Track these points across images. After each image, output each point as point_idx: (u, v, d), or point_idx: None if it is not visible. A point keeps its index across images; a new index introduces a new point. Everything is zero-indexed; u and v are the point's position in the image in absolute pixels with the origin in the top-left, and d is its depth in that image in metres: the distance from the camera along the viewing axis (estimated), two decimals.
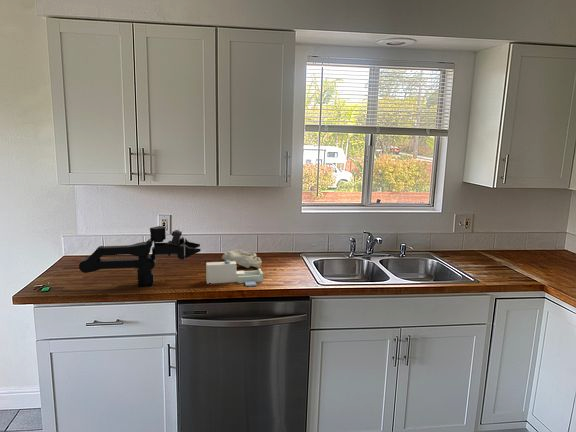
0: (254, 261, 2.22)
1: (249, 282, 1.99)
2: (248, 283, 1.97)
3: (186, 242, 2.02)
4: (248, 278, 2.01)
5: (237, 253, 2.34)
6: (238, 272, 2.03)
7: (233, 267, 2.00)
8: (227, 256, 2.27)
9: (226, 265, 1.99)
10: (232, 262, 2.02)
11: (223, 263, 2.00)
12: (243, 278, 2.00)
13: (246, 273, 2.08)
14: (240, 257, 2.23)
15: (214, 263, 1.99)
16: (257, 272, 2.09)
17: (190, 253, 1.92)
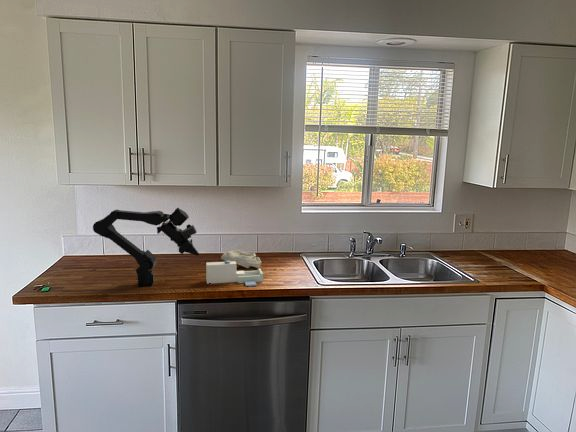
0: (254, 261, 2.21)
1: (249, 282, 1.99)
2: (248, 283, 1.97)
3: None
4: (248, 278, 2.01)
5: (236, 253, 2.33)
6: (238, 272, 2.03)
7: (233, 267, 2.00)
8: (226, 256, 2.27)
9: (226, 265, 1.99)
10: (232, 262, 2.02)
11: (223, 263, 2.00)
12: (243, 278, 2.00)
13: (246, 273, 2.08)
14: (240, 257, 2.22)
15: (214, 263, 1.99)
16: (257, 272, 2.09)
17: (189, 251, 1.95)
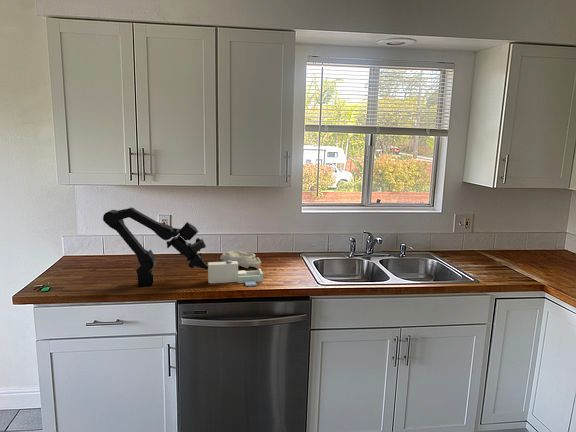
0: (253, 261, 2.21)
1: (249, 282, 1.99)
2: (248, 283, 1.97)
3: None
4: (248, 278, 2.01)
5: (235, 253, 2.33)
6: (240, 272, 2.03)
7: (235, 267, 2.00)
8: (226, 257, 2.26)
9: (228, 265, 1.99)
10: (234, 262, 2.02)
11: (225, 263, 2.00)
12: (243, 278, 2.00)
13: None
14: (239, 257, 2.22)
15: (216, 263, 1.99)
16: (257, 272, 2.09)
17: (198, 265, 1.97)
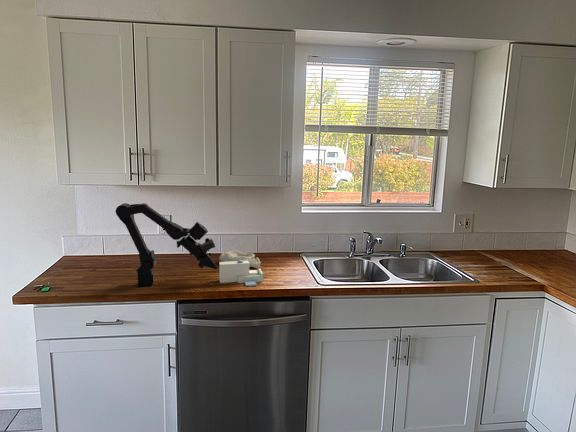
0: (253, 261, 2.21)
1: (249, 282, 1.99)
2: (248, 283, 1.97)
3: None
4: (248, 278, 2.01)
5: (234, 254, 2.32)
6: (251, 271, 2.04)
7: (246, 266, 2.01)
8: (225, 257, 2.25)
9: (239, 264, 2.00)
10: (245, 261, 2.04)
11: (236, 262, 2.02)
12: (243, 278, 2.00)
13: None
14: (239, 258, 2.21)
15: (227, 263, 2.01)
16: (257, 272, 2.09)
17: (208, 264, 1.98)
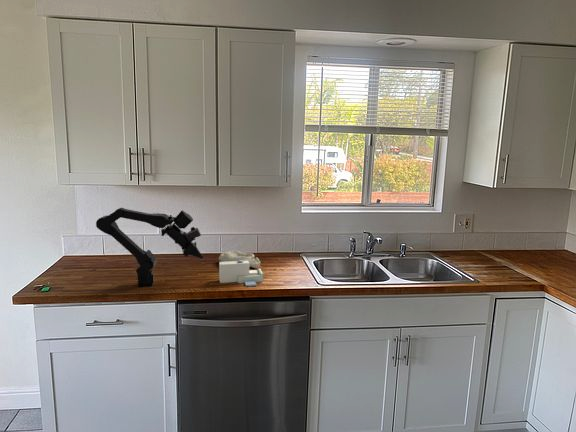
0: (253, 262, 2.21)
1: (249, 282, 1.99)
2: (248, 283, 1.97)
3: None
4: (248, 278, 2.01)
5: (234, 254, 2.32)
6: (251, 271, 2.05)
7: (246, 266, 2.01)
8: (225, 257, 2.25)
9: (239, 264, 2.00)
10: (245, 261, 2.04)
11: (236, 262, 2.02)
12: (243, 278, 2.00)
13: None
14: (238, 258, 2.21)
15: (227, 263, 2.01)
16: (257, 272, 2.09)
17: (193, 253, 1.95)
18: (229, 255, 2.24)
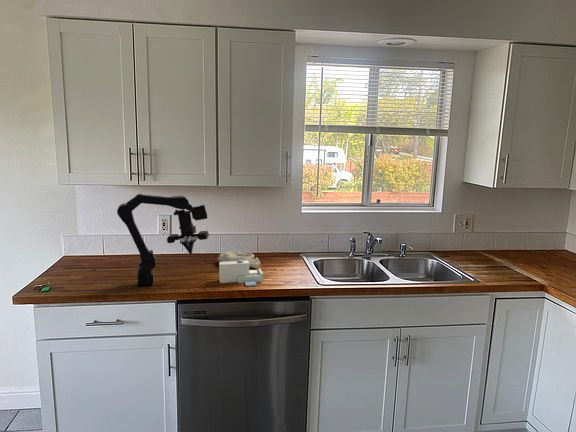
0: (253, 262, 2.20)
1: (249, 282, 1.99)
2: (248, 283, 1.97)
3: (188, 240, 2.01)
4: (248, 278, 2.01)
5: (233, 254, 2.31)
6: (251, 271, 2.05)
7: (246, 266, 2.01)
8: (224, 257, 2.25)
9: (239, 264, 2.00)
10: (245, 261, 2.04)
11: (236, 262, 2.02)
12: (243, 278, 2.00)
13: None
14: (238, 258, 2.21)
15: (227, 263, 2.01)
16: (257, 272, 2.09)
17: (192, 245, 1.99)
18: (229, 255, 2.24)
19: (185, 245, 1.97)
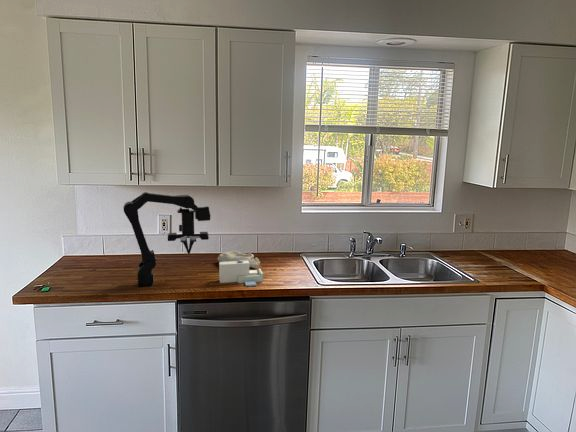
0: (252, 262, 2.20)
1: (249, 282, 1.99)
2: (248, 283, 1.97)
3: None
4: (248, 278, 2.01)
5: (233, 254, 2.31)
6: (251, 271, 2.05)
7: (246, 266, 2.01)
8: (224, 257, 2.24)
9: (239, 264, 2.00)
10: (245, 261, 2.04)
11: (236, 262, 2.02)
12: (243, 278, 2.00)
13: None
14: (238, 258, 2.20)
15: (227, 263, 2.01)
16: (257, 272, 2.09)
17: None
18: (228, 255, 2.23)
19: (185, 244, 1.98)
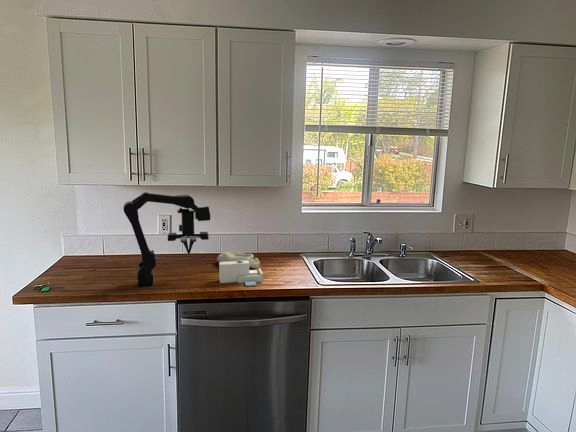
0: (252, 262, 2.20)
1: (249, 282, 1.99)
2: (248, 283, 1.97)
3: None
4: (248, 278, 2.01)
5: (232, 254, 2.31)
6: (251, 271, 2.05)
7: (246, 266, 2.01)
8: (224, 258, 2.24)
9: (239, 264, 2.00)
10: (245, 261, 2.04)
11: (236, 262, 2.02)
12: (243, 278, 2.00)
13: None
14: (238, 258, 2.20)
15: (227, 263, 2.01)
16: (257, 272, 2.09)
17: None
18: (228, 255, 2.23)
19: (185, 244, 1.98)
